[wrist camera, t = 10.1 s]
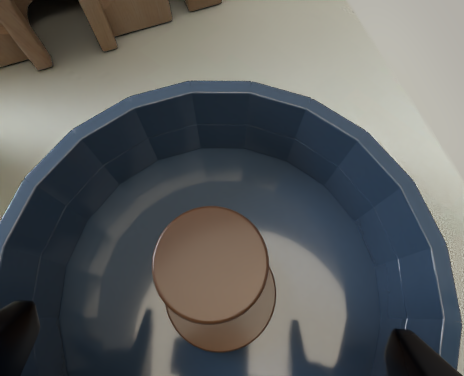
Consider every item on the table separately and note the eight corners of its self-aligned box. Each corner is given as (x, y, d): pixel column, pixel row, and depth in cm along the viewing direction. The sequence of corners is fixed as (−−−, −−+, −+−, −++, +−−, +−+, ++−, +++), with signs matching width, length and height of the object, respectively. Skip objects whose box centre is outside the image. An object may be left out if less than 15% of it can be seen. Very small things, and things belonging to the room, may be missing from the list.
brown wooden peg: (290, 329, 16) (383, 352, 6) (182, 367, 15) (109, 454, 6) (253, 226, 17) (285, 118, 8) (155, 257, 17) (59, 182, 7)
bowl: (448, 413, 15) (561, 464, 10) (87, 558, 14) (0, 708, 8) (311, 111, 20) (341, 39, 15) (31, 191, 18) (-46, 142, 13)
